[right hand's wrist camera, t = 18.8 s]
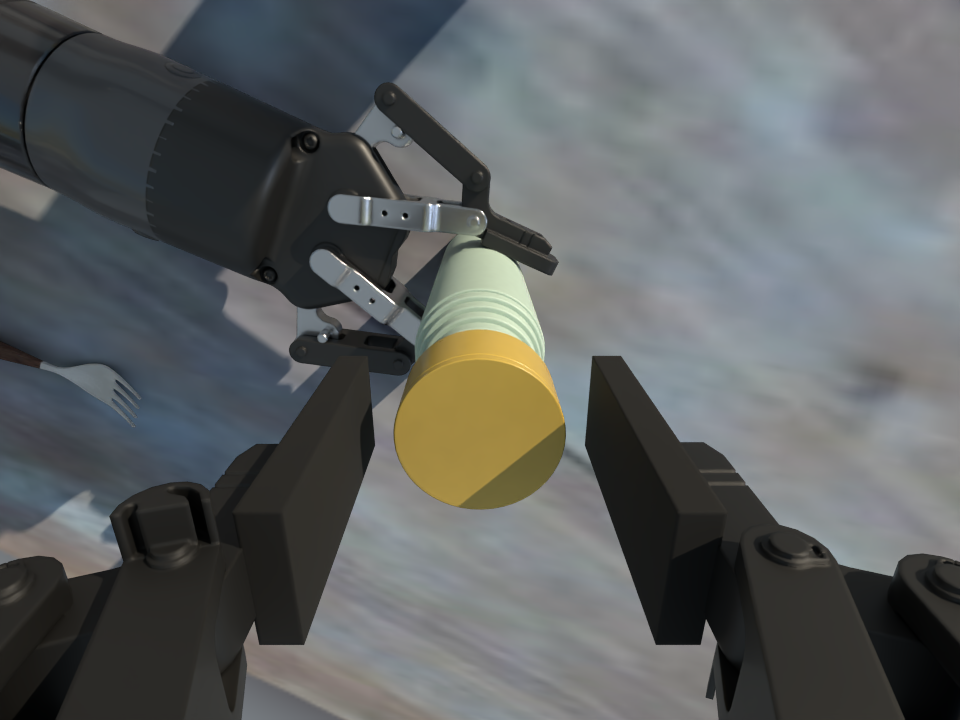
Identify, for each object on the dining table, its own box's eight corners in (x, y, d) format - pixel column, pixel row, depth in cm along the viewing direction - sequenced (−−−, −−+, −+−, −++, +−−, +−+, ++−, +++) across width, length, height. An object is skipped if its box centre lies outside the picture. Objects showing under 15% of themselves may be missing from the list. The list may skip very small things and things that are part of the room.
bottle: (530, 249, 32) (603, 393, 13) (494, 312, 33) (513, 525, 14) (464, 213, 31) (439, 310, 12) (430, 279, 32) (361, 457, 14)
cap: (421, 472, 15) (412, 519, 14) (390, 341, 14) (375, 372, 12) (561, 453, 15) (573, 498, 13) (545, 317, 14) (556, 346, 12)
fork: (-106, 289, 32) (-142, 297, 30) (159, 382, 35) (140, 396, 33) (-107, 327, 33) (-142, 337, 31) (151, 415, 35) (133, 430, 34)
